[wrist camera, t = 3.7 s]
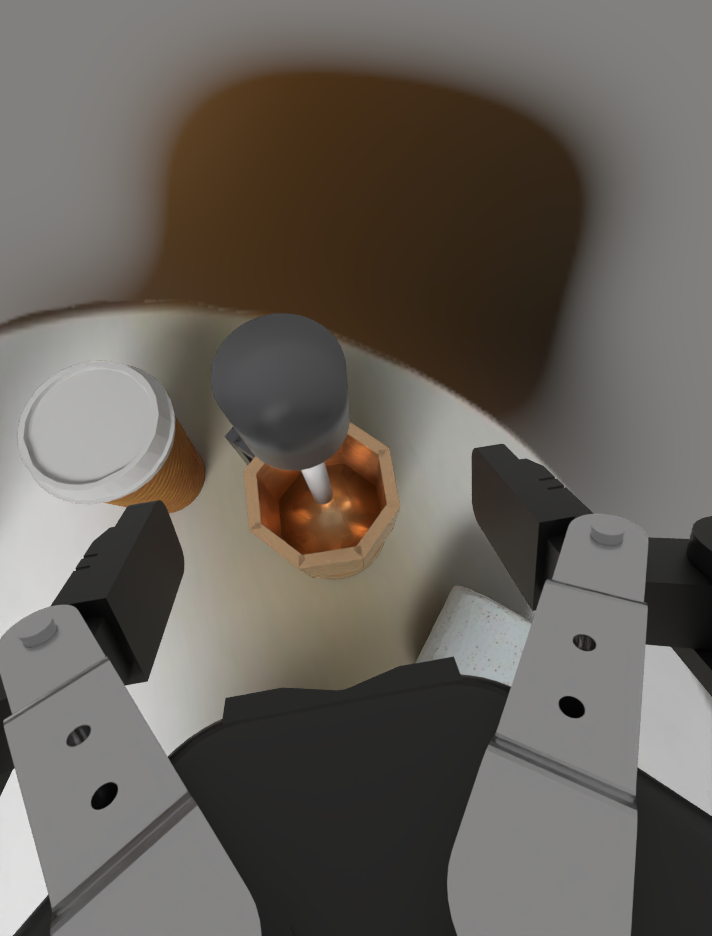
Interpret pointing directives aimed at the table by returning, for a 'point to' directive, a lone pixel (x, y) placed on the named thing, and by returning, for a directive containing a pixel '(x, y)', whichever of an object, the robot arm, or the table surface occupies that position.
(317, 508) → the wooden pitcher
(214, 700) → the table surface
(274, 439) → the plunger
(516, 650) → the ceramic mug
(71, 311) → the table surface
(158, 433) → the disposable coffee cup
